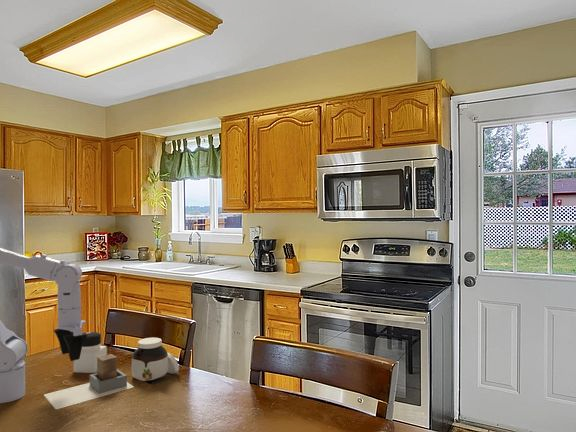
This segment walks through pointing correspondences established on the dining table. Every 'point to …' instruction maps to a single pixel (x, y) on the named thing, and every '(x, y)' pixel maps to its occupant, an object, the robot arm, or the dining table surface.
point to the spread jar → (152, 361)
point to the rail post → (106, 367)
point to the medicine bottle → (90, 353)
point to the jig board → (88, 390)
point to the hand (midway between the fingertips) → (70, 356)
